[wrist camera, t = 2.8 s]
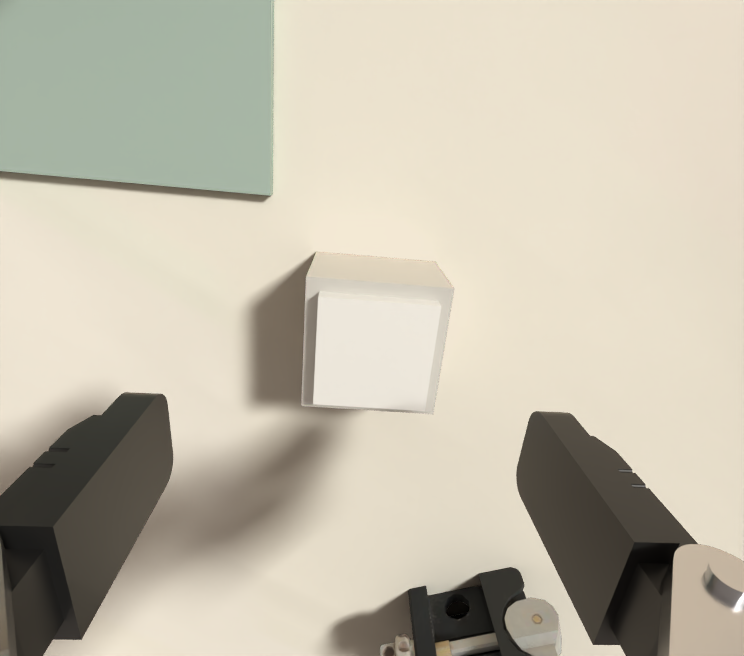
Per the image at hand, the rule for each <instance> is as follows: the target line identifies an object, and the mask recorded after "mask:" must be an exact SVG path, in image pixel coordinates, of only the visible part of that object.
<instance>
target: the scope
mask: <svg viewBox="0 0 744 656" xmlns="http://www.w3.org/2000/svg"><path fill="white" fill-rule="evenodd" d="M479 578H480V581H481V585H482V588H481V587H479V586H474V587H470V588H465V589H460V590H455V591H450V592H445V593H440V594H435V595H430V596H428V595H427V589H426V586H423V587H418V588H414V589H410V590H409V591H408V596H409V605H410V614H411V622H412V631H413V640H410V638H409V637H408V635H407V634H403V635H398V636H396V638H395V642H393V643H388V644H383V645H381V647H380V656H559V655H560V654H561V644H562V638H561V631H560V624H559V617H558V614H557V612H556V611H555V609H554V608H553V606H552V605H550V604H549V603H548V602H546V601H545V600H541V599H536V598H527V599H526V597H525V594H524V591H523V588H524V582H523V579H522V576H521V573H520V572H519V571H518V570H517V569H515V568H511V567H510V568H505V569H501V570H496V571H491V572H486V573H481V574H479ZM455 602H464V603H465V604H466V605H468V606H469V607H470V610H469V612H468V613H463V614H458V615H453V616H448V615H447V609H448V607H449V606H450V605H451V604H452V603H455Z"/></svg>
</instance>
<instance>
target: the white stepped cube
mask: <svg viewBox="0 0 744 656" xmlns="http://www.w3.org/2000/svg"><path fill="white" fill-rule="evenodd" d="M453 293H454V287H453V286H452V284H451V283H450V282H449V280H448V279H447V277H446V276H445V274H444V273H443V272H442V270H441V269H440V267H439V266H438V264H437V263H436V262H435V261H423V260H411V259H399V258H387V257H375V256H364V255H352V254H340V253H328V252H316V254H315V256H314V259H313V261H312V263H311V266H310V268H309V270H308V273H307V275H306V290H305V317H304V345H303V372H302V400H301V406H310V407H326V408H342V409H358V410H374V411H390V412H406V413H422V414H433V413H434V407H435V401H436V395H437V389H438V383H439V377H440V371H441V365H442V359H443V353H444V347H445V341H446V335H447V329H448V323H449V317H450V311H451V305H452V299H453Z"/></svg>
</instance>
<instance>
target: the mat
mask: <svg viewBox="0 0 744 656" xmlns="http://www.w3.org/2000/svg"><path fill="white" fill-rule="evenodd" d="M273 57H274V0H0V171H6V172H17V173H28V174H39V175H50V176H61V177H72V178H83V179H93V180H104V181H115V182H126V183H137V184H148V185H159V186H170V187H181V188H192V189H203V190H214V191H225V192H236V193H247V194H258V195H269V196H271V195H273Z"/></svg>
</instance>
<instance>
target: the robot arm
mask: <svg viewBox="0 0 744 656" xmlns="http://www.w3.org/2000/svg"><path fill="white" fill-rule="evenodd" d="M172 465H173V449H172V440H171V431H170V422H169V412H168V404H167V400H166V397H165V396H164V395H163V394H151V393H128V392H126V393H123V394H121V395H120V396H119V397H118V398H117V399H116V400H115V401H114V402H113V404H112V405H111V406H110V407H109V408H108V409H107V410H106V411H105V412H104V413H103V414H102V415H93V416H91V417H89V418H88V419H86V420H84V421H82V422H80V423H79V424H77V425H75V426H73V427H72V428H70V429H68V430H67V431H66V432H65V433H64V434H63V435H62V436H61V437H60V438H59V439H58V440H57V441H56V442H55V443H54V444H53V445H52V446H51V447H50V448H49V451H48V452H47V451H45V452H44V453H43V454H42V455H41V456H40V457H39V458H38V459H37V460H36V461H35V462H34V465H33V467H29V468H28V469H27V470H26V471H25V472H24V473H23V474H22V475H21V476H20V477H19V478H18V479H17V480H16V481H15V482H14V483H13V484H12V485H11V486H10V487H9V488H8V489H7V490H6V491H5V492H4V493H3V494H2V495H1V496H0V656H43V654H44V653H45V651H46V649H47V648H48V646H49V645H50V643H51V641H52V640H53V639H71V640H82V638H83V636H84V634H85V632H86V631H87V629H88V627H89V625H90V623H91V621H92V620H93V618H94V616H95V614H96V612H97V611H98V609H99V607H100V605H101V603H102V602H103V600H104V598H105V596H106V594H107V592H108V591H109V589H110V587H111V585H112V583H113V582H114V580H115V578H116V576H117V574H118V573H119V571H120V569H121V567H122V565H123V563H124V562H125V560H126V558H127V556H128V554H129V553H130V551H131V549H132V547H133V545H134V544H135V542H136V540H137V538H138V536H139V534H140V533H141V531H142V529H143V527H144V525H145V524H146V522H147V520H148V518H149V516H150V515H151V513H152V511H153V509H154V507H155V505H156V504H157V502H158V500H159V498H160V496H161V495H162V493H163V491H164V489H165V487H166V485H167V483H168V481H169V478H170V475H171V471H172ZM516 476H517V487H518V491H519V494H520V497H521V499H522V501H523V503H524V505H525V507H526V509H527V511H528V513H529V515H530V517H531V519H532V521H533V523H534V525H535V527H536V529H537V531H538V533H539V536H540V538H541V540H542V542H543V544H544V546H545V548H546V550H547V552H548V554H549V556H550V558H551V560H552V562H553V564H554V566H555V568H556V570H557V572H558V574H559V576H560V578H561V580H562V582H563V584H564V587H565V589H566V591H567V593H568V595H569V597H570V599H571V601H572V603H573V605H574V607H575V609H576V611H577V613H578V615H579V617H580V619H581V621H582V623H583V625H584V627H585V629H586V631H587V633H588V635H589V637H590V640H591V642H592V644H593V645H620V646H621V647H622V649H623V651H624V653H625V655H626V656H744V561H742V560H741V559H739V558H737V557H735V556H733V555H731V554H729V553H727V552H725V551H722V550H720V549H717V548H714V547H710V546H706V545H701V544H698V543H697V542H696V541H695V540H694V539H693V538H692V537H691V536H690V534H689V533H688V532H687V531H686V530H685V529H684V528H683V526H682V525H681V524H680V523H679V522H678V521H677V520H676V519H675V517H674V516H673V515H672V514H671V513H670V512H669V511H668V509H667V508H666V507H665V506H664V505H663V504H662V503H661V502H660V500H659V499H658V498H657V497H656V496H655V495H654V494H653V493H652V491H651V490H650V489H649V488H646V487H645V483H644V482H643V481H642V480H641V479H640V478H639V477H638V476H637V474H636V473H632V469H631V468H630V466H629V465H628V464H627V463H626V462H625V461H624V460H623V459H622V457H621V456H620V455H619V454H618V453H617V452H616V451H615V450H613V449H612V448H610V447H609V446H607V445H606V444H605V443H603V442H602V441H600V440H599V439H597V438H596V437H594V436H590V435H589V434H588V433H587V432H586V430H585V429H584V428H583V427H582V426H581V425H580V423H579V422H578V421H577V420H576V419H575V417H574V416H573V415H572V414H570V413H562V412H539V411H536V412H533V413H532V415H531V416H530V418H529V422H528V426H527V430H526V434H525V438H524V442H523V446H522V450H521V454H520V458H519V462H518V466H517V475H516Z"/></svg>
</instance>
